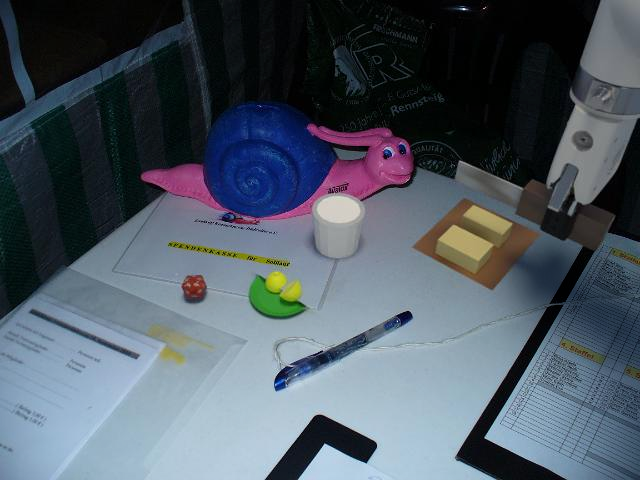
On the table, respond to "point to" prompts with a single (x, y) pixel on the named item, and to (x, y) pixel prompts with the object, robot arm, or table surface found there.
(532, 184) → the knife
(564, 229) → the robot arm
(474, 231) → the butter slice
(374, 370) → the table surface
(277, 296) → the green and yellow piece
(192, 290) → the die
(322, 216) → the white ramekin
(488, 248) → the butter
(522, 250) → the cutting board
